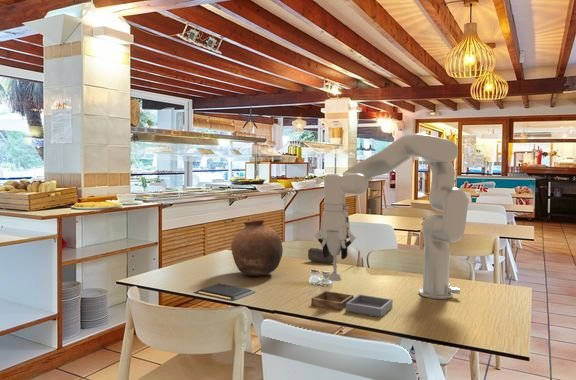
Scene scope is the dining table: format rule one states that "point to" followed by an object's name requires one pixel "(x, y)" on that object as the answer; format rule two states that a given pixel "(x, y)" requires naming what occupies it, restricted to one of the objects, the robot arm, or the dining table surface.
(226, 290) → the dark grey book
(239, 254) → the pottery
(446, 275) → the robot arm
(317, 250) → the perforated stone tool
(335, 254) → the chalice
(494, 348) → the dining table surface
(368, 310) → the parts tray
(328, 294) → the tray
